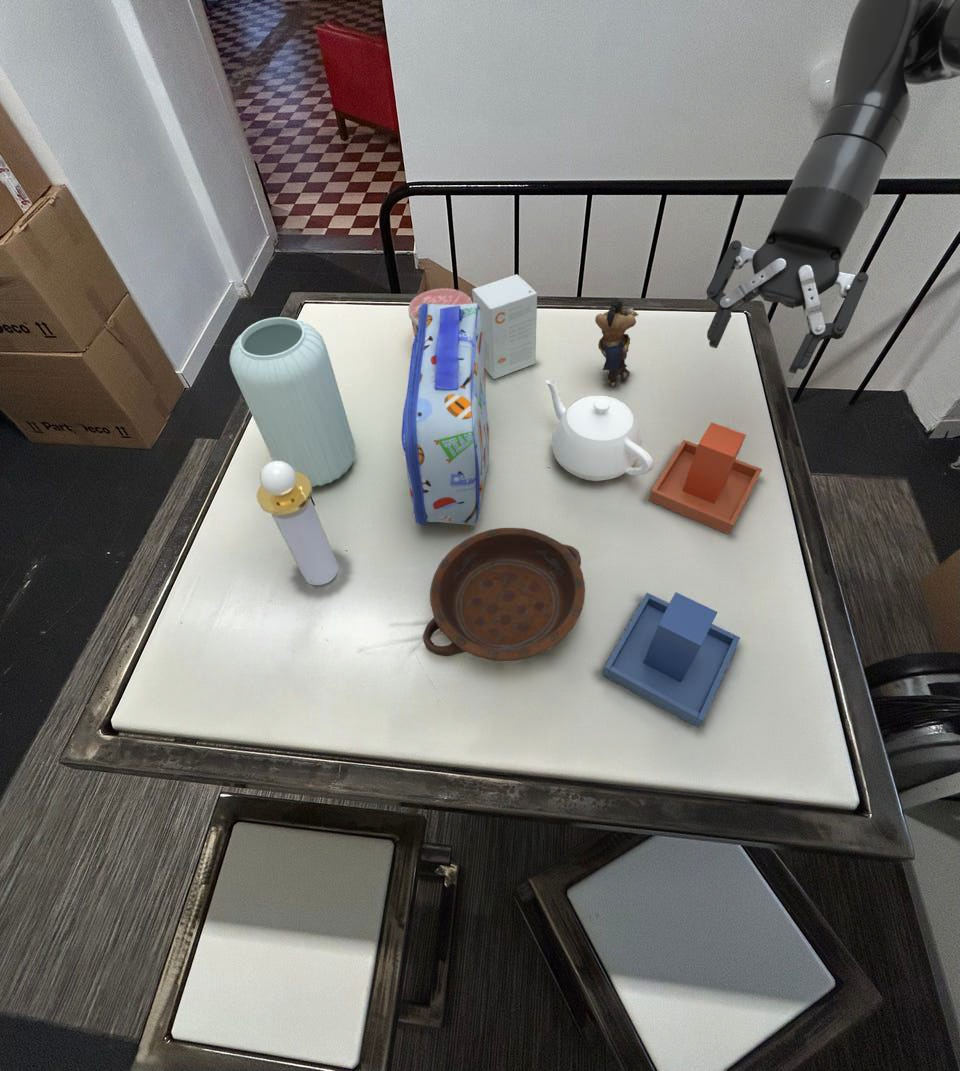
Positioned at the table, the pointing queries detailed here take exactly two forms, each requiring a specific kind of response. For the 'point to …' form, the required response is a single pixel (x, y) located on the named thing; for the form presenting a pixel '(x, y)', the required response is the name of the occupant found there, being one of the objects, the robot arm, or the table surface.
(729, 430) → the terracotta block
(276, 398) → the vase
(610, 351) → the figurine
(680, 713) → the blue tray
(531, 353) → the small box
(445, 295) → the container
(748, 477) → the terracotta tray
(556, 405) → the teapot
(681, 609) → the blue block
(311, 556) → the perfume bottle
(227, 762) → the table surface
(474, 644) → the dish
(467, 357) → the lunch box
